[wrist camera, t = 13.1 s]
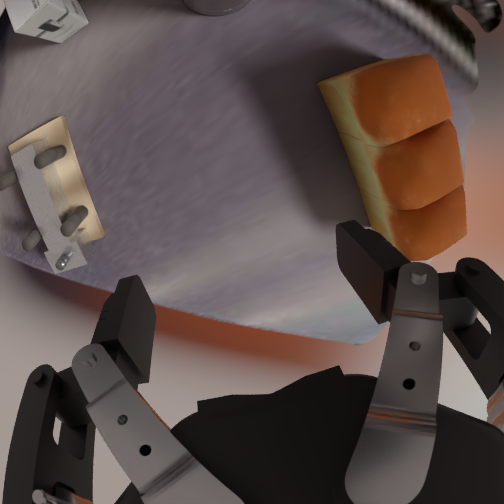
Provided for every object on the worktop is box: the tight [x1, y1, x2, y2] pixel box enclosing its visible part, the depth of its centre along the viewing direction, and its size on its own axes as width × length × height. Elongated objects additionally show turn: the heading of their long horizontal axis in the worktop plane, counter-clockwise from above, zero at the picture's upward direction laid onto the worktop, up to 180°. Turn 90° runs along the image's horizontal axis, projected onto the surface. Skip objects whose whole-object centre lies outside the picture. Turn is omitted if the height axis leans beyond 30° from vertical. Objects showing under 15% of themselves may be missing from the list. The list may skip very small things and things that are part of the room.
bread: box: [317, 53, 467, 261], centre depth 32 cm, size 25×12×15 cm, turn 27°
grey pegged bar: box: [11, 138, 96, 274], centre depth 31 cm, size 18×6×6 cm, turn 12°
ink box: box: [4, 0, 88, 43], centre depth 17 cm, size 8×5×12 cm, turn 25°
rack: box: [0, 116, 105, 252], centre depth 31 cm, size 18×10×7 cm, turn 11°
